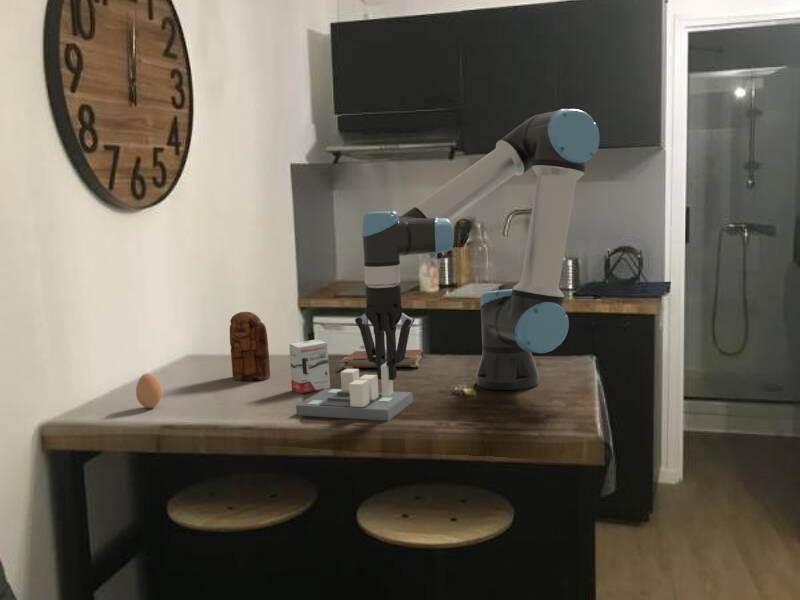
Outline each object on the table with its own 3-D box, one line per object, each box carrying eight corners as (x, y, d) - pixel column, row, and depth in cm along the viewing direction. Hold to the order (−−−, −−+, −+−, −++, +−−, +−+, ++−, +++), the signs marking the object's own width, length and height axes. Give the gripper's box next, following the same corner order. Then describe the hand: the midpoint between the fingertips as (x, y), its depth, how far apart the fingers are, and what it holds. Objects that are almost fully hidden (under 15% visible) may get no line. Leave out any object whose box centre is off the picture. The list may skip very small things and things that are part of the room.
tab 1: (360, 389, 197) (358, 369, 197) (353, 393, 194) (352, 372, 193) (348, 389, 199) (347, 368, 198) (341, 393, 195) (340, 372, 195)
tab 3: (378, 396, 190) (377, 375, 190) (372, 400, 187) (370, 378, 186) (366, 396, 191) (365, 374, 191) (359, 400, 188) (358, 378, 187)
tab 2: (369, 402, 186) (368, 380, 185) (363, 407, 182) (361, 384, 182) (357, 401, 187) (355, 379, 186) (350, 406, 184) (349, 383, 183)
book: (340, 363, 245) (339, 346, 245) (425, 361, 242) (424, 344, 241) (327, 373, 229) (326, 355, 229) (418, 371, 226) (417, 353, 225)
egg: (142, 405, 204) (139, 371, 203) (166, 404, 204) (162, 370, 203) (134, 411, 199) (130, 377, 198) (158, 410, 199) (155, 376, 197)
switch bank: (413, 402, 194) (412, 389, 193) (388, 420, 180) (387, 406, 180) (326, 397, 202) (325, 385, 201) (296, 415, 188) (295, 402, 188)
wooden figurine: (225, 380, 225) (219, 314, 223) (236, 375, 231) (231, 310, 229) (265, 381, 222) (259, 314, 219) (275, 376, 228) (270, 310, 225)
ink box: (300, 394, 207) (297, 346, 205) (291, 390, 211) (288, 343, 209) (331, 387, 212) (328, 341, 210) (321, 384, 216) (318, 338, 214)
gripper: (418, 283, 179) (422, 391, 183) (361, 282, 184) (367, 388, 187) (405, 287, 172) (410, 400, 176) (347, 287, 177) (352, 397, 181)
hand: (387, 394), depth 182 cm, fingers closed
